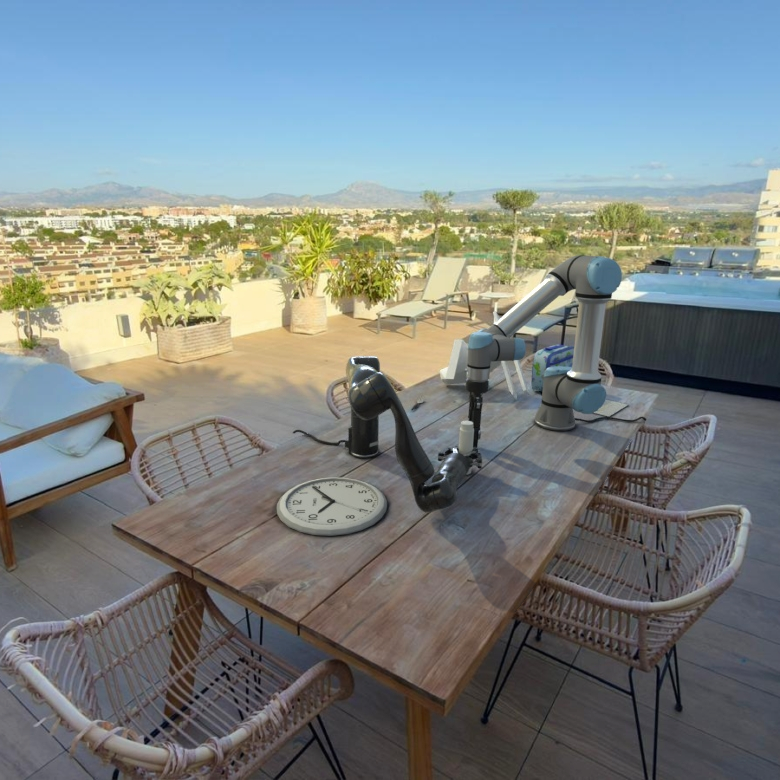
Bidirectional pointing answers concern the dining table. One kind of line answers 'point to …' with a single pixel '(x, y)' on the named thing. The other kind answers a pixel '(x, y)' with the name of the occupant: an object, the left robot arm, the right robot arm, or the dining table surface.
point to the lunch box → (549, 362)
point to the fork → (418, 402)
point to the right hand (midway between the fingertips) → (472, 443)
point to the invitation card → (610, 408)
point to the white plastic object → (459, 364)
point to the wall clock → (331, 506)
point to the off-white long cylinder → (466, 438)
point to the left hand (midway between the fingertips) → (467, 448)
